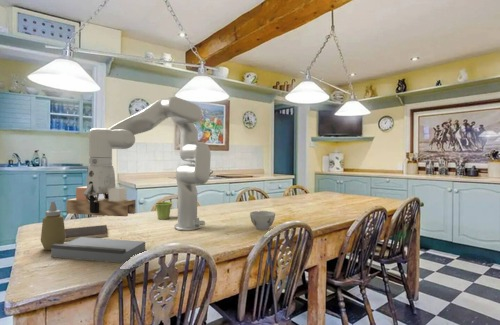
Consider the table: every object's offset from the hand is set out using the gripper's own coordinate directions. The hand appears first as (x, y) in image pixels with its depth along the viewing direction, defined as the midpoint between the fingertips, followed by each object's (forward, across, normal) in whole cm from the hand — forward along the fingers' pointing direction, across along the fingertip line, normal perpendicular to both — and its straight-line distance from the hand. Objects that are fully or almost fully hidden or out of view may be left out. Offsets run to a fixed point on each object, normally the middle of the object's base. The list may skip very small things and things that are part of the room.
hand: (101, 210), depth 106 cm
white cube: (-4, 0, -7) cm, 8 cm away
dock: (+16, -1, 0) cm, 16 cm away
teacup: (+16, +48, -53) cm, 73 cm away
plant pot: (+16, +56, +4) cm, 59 cm away
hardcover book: (+16, +17, +25) cm, 35 cm away
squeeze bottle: (+16, 0, +21) cm, 26 cm away
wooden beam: (+1, 0, 0) cm, 1 cm away
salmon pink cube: (-4, 0, +7) cm, 8 cm away
